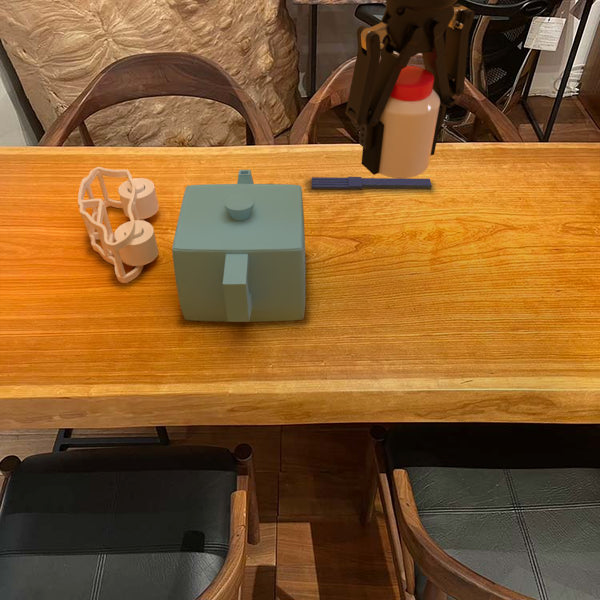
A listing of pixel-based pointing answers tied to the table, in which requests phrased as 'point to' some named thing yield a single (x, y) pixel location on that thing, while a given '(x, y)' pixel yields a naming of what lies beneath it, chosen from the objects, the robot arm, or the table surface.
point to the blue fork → (369, 183)
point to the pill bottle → (409, 124)
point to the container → (241, 252)
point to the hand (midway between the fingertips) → (398, 158)
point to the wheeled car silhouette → (129, 236)
